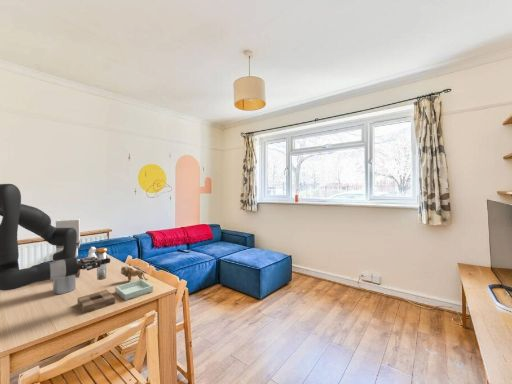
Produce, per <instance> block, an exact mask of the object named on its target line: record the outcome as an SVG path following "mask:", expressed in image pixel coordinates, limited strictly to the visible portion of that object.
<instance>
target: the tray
mask: <svg viewBox="0 0 512 384" xmlns="http://www.w3.org/2000/svg"><path fill="white" fill-rule="evenodd" d="M114 291H115V292H114V293H115V294H116V295H118V296H119V297H120V298H121V299H122V300H124V301H129V300H132V299H135V298H138V297H141V296H144V295H147V294H150V293H153V292H154V285H152V284H151V283H149V282H147V280H145V279H144V278H143V279H141V280H139V279H138V280H137V279H136V280H134V281H130V282H127V283H124V284H120V285H117V286H115V288H114Z"/></svg>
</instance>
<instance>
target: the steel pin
mask: <svg viewBox="0 0 512 384" xmlns="http://www.w3.org/2000/svg"><path fill="white" fill-rule="evenodd" d="M107 252H108V247H98V248H96V251H95V254H96V256H97V260H102V259H106V256H107ZM106 279H107V264H102V265H101V266H100V267H97V268H96V280H97V281H102V280H106Z"/></svg>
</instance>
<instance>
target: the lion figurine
mask: <svg viewBox="0 0 512 384" xmlns="http://www.w3.org/2000/svg"><path fill="white" fill-rule="evenodd" d="M120 274H121V275H123V276H124V277H127V281H126V282H127V283H130V282H131V280H132V277H133V278H134V277H138V280H141V279H143V280H144V281H148V278H146V277H145V274H144V272H143V270H141V269H135V270H134V269H133V268H131V267H129V266H126V265H124V266H122V267H121V271H120Z"/></svg>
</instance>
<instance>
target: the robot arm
mask: <svg viewBox="0 0 512 384" xmlns="http://www.w3.org/2000/svg"><path fill="white" fill-rule="evenodd" d="M18 187H19V186H17V185H15V184H12V183H0V217H2V218H1V221H0V291H3V292H4V291H5V292H7V291H12V290H16V289H20V288H22V287H26V286H28V285H31V284H36V283H40V282H45V281H51V280H52V293H53V294H54V295H61V294H66V293H70V292H72V291H74V290H75V289H76V278H75V275H76V274H77V273H78V270H80V271H81V270H82V271H84V270H86V271H91V270H94V269H97V267H100V266H101V265H102V264H106V265H107V264H110V263H111V258H110V257H108V256H107V255H106V259H102V260H97V257H96V258H95V257H90V258H88V257H81V258H80V259H79V260H78V257H77V258H76V257H75V253H76V243H77V232H76V230H75V229H74V228H56V226H54V225H52V219H51V216H49V215H48V214H47V213H45V212H44V211H43V210H41V209H39V208H37V207H34V206H32V205H27V204H23V203H22V194H21V191H20V188H18ZM19 226H20V227H21V228H23V229H25V230H26V231H30V232H31V233H33V234H35V235H37V236H39V237H40V238H42V239H43V240H44V241H45V242H47V243H48V244H49V245H51V246H55V247H56V246H62V245H64V248H63V250H62V251H60V252H57V253H56V252H55V253H53V255H52V261H49V262H44V263H39V264H34V265H32V266H30V267H26V268H21V269H20V266H19V265H20V264H19V256H20V255H19V241H18V229H19Z"/></svg>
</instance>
